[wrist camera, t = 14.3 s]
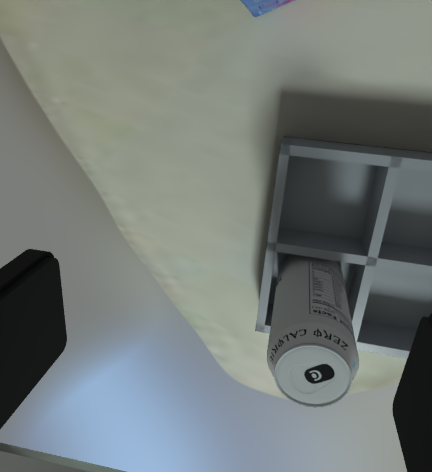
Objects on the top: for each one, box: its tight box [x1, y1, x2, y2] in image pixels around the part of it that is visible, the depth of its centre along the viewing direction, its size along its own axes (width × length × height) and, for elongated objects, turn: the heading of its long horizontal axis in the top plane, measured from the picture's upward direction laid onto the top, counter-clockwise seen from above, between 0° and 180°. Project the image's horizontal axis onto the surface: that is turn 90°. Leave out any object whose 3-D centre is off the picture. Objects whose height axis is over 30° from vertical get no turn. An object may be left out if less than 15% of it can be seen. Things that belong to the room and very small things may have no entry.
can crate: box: [255, 137, 432, 359], centre depth 36 cm, size 17×17×4 cm
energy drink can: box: [267, 254, 359, 408], centre depth 33 cm, size 6×6×15 cm
